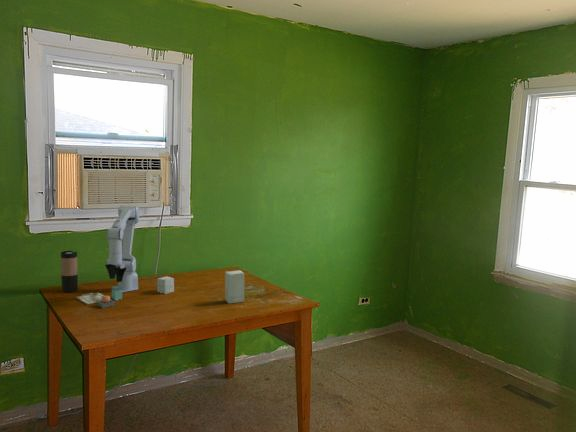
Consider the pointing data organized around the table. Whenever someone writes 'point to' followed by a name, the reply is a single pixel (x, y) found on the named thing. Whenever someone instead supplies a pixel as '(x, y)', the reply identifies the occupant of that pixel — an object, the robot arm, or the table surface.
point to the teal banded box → (116, 292)
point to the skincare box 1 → (165, 285)
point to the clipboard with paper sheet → (90, 298)
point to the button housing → (103, 305)
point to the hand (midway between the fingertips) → (115, 280)
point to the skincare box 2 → (234, 286)
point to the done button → (105, 299)
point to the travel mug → (69, 271)
